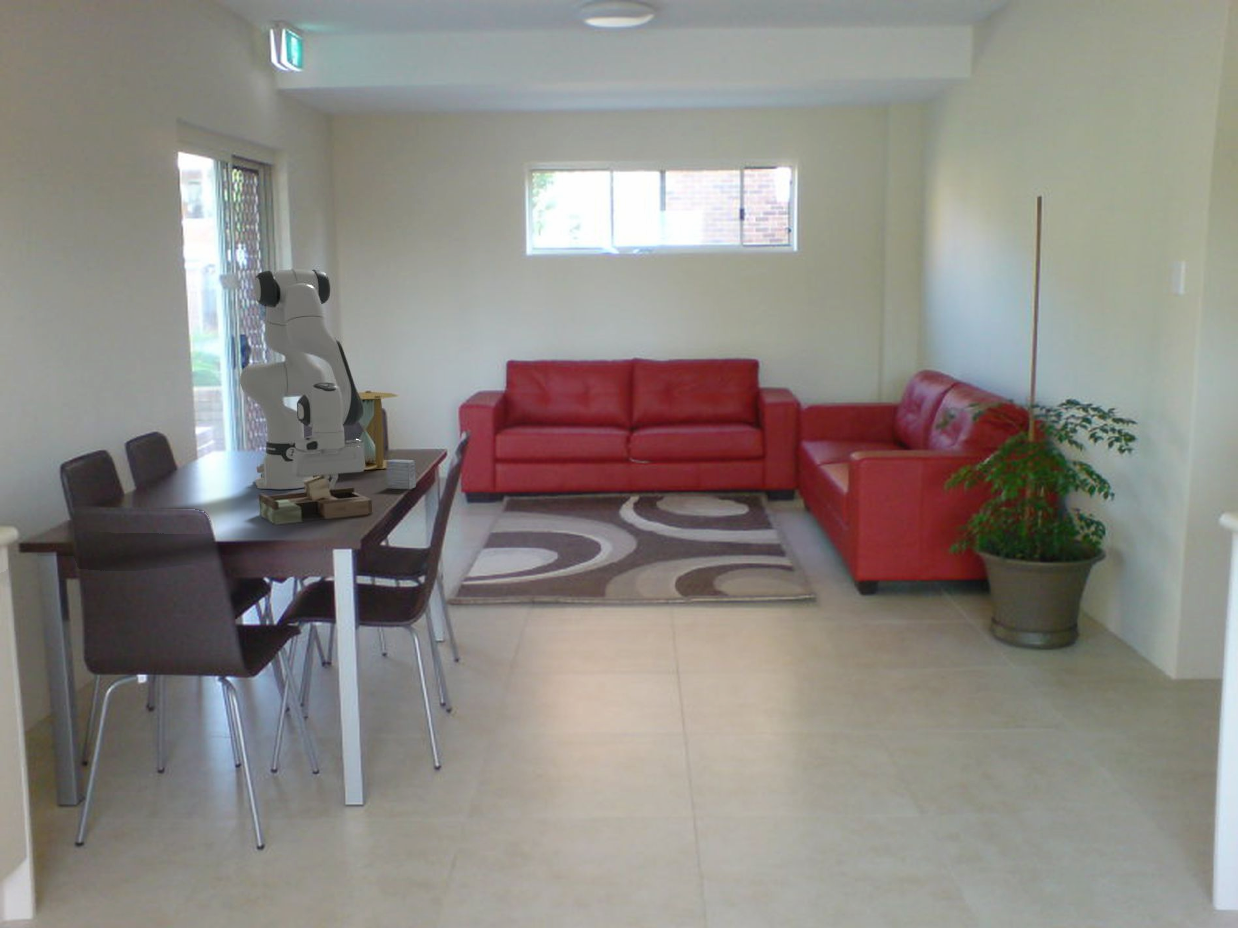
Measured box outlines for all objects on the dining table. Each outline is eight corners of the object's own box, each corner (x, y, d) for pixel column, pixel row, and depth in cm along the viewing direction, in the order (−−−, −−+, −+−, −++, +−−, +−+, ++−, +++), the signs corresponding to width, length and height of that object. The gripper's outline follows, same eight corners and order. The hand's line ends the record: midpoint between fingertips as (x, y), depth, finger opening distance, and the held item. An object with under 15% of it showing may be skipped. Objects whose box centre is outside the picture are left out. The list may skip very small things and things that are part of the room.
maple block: (307, 497, 333) (303, 481, 332) (324, 491, 336) (320, 475, 334) (313, 500, 329) (308, 483, 328) (330, 494, 331) (325, 478, 330)
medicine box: (416, 487, 371) (415, 460, 370) (409, 490, 367) (409, 462, 366) (393, 486, 373) (392, 459, 372) (386, 488, 369) (385, 461, 368)
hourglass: (319, 465, 413) (317, 393, 409) (374, 458, 429) (372, 389, 424) (356, 473, 396) (354, 399, 392) (412, 465, 412) (410, 394, 408)
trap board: (259, 514, 329) (258, 493, 328) (353, 504, 344) (352, 484, 343) (275, 524, 317) (274, 502, 316) (372, 513, 331) (371, 492, 330)
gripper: (359, 437, 340) (361, 484, 342) (289, 442, 329) (291, 492, 331) (367, 439, 335) (369, 487, 337) (296, 445, 323) (299, 495, 325)
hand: (330, 490), depth 334 cm, fingers closed
